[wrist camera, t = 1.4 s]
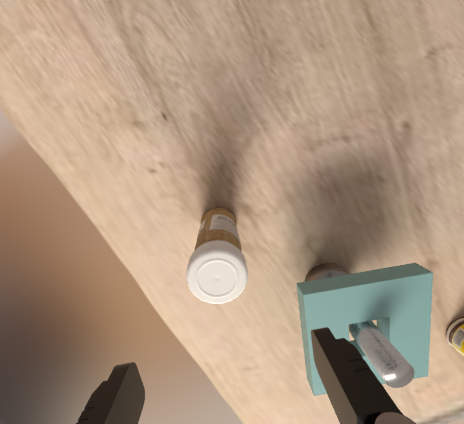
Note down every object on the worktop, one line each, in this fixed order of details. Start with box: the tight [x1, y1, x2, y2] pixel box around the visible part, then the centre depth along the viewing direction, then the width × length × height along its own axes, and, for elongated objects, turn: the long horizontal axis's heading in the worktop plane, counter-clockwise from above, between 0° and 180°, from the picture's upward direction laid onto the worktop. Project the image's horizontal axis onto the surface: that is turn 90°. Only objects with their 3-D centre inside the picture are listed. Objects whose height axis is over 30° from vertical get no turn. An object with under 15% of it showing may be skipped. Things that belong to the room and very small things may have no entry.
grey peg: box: [305, 264, 415, 388], centre depth 26 cm, size 6×6×14 cm
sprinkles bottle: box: [186, 208, 248, 304], centre depth 24 cm, size 5×5×14 cm
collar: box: [297, 263, 433, 396], centre depth 24 cm, size 12×12×2 cm
